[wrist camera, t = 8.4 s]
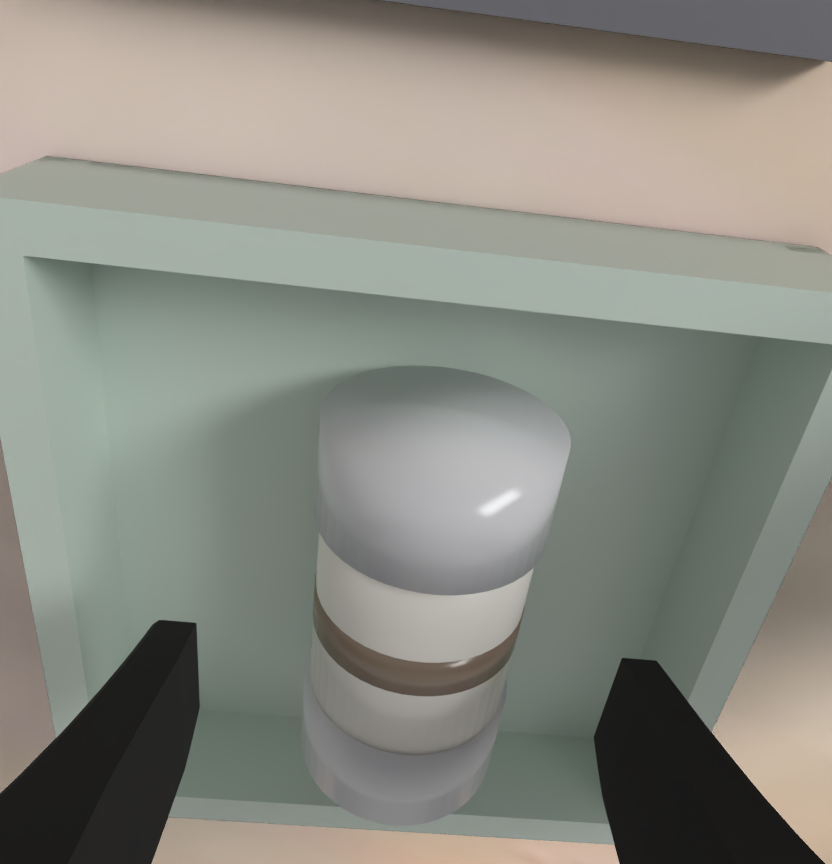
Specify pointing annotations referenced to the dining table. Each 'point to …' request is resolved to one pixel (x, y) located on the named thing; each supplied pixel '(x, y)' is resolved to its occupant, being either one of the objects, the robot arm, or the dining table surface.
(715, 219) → the dining table surface
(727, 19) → the fuse block
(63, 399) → the parts tray
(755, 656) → the dining table surface
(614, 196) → the dining table surface
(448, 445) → the fuse
